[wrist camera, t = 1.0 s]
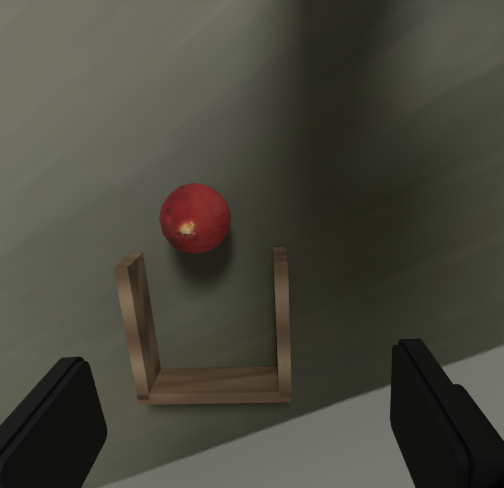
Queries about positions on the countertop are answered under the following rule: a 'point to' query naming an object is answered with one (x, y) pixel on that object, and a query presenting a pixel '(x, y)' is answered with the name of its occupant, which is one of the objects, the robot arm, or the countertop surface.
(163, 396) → the wooden tray
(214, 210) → the onion
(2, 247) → the countertop surface
